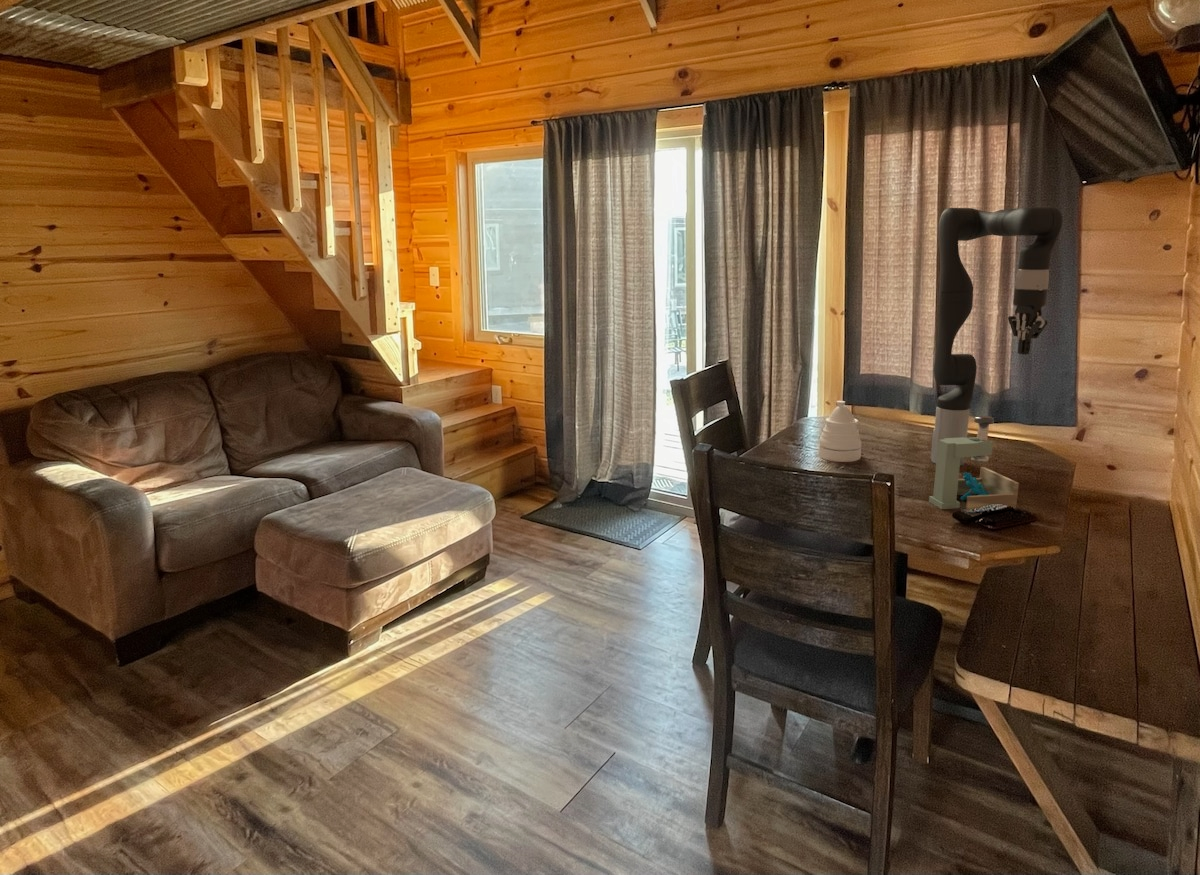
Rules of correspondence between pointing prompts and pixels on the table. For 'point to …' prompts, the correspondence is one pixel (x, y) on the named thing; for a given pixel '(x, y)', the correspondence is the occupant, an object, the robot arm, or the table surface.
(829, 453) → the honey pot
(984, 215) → the robot arm
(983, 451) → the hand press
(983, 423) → the ram
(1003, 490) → the tan open box
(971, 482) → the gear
